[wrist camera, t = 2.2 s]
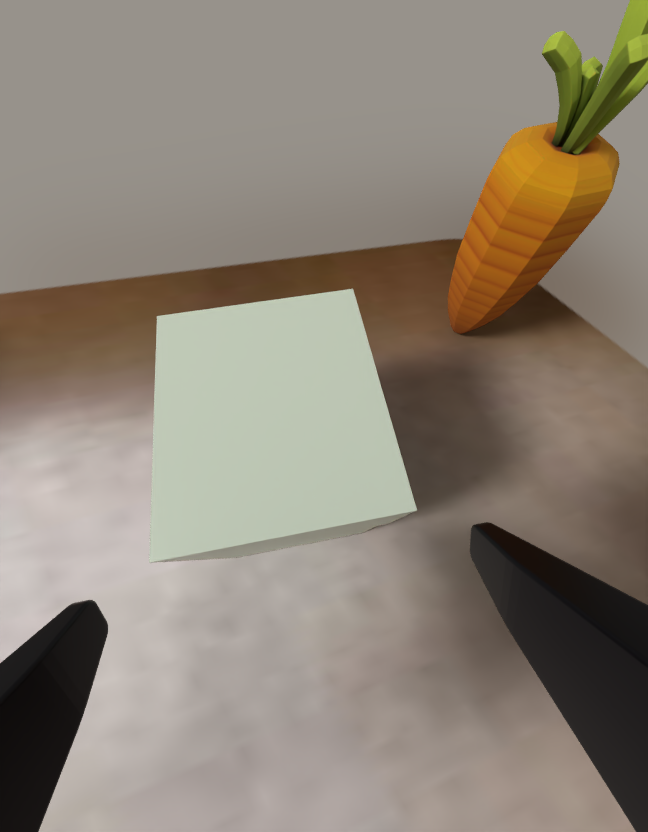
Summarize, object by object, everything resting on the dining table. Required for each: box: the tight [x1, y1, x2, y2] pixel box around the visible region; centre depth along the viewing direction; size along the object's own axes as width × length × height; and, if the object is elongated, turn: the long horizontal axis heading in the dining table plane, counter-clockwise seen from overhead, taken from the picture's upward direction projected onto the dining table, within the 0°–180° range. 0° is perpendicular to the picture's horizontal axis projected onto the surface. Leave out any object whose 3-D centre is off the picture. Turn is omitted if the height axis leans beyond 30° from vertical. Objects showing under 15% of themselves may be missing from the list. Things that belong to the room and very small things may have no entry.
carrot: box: [448, 0, 648, 334], centre depth 16 cm, size 5×5×15 cm
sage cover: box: [149, 289, 417, 563], centre depth 14 cm, size 8×7×9 cm
